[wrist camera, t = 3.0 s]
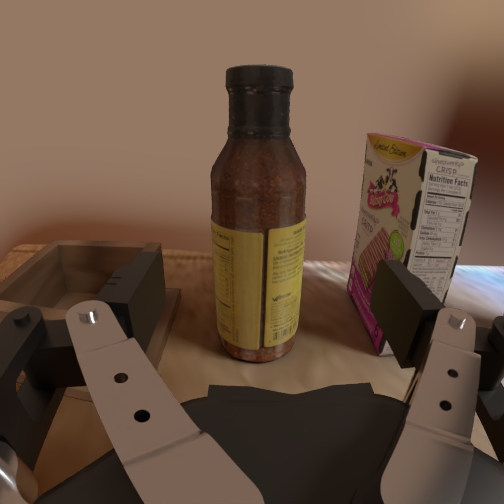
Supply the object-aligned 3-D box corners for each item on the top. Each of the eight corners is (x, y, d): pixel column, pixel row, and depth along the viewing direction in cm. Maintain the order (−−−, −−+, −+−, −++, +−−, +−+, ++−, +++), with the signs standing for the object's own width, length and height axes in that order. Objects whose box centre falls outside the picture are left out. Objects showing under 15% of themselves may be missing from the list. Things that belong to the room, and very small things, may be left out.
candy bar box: (342, 289, 33) (364, 131, 27) (384, 290, 33) (411, 138, 27) (375, 360, 23) (424, 142, 16) (427, 355, 23) (482, 155, 17)
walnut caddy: (180, 298, 31) (177, 239, 28) (144, 411, 18) (124, 339, 15) (59, 288, 30) (48, 236, 28) (-11, 372, 17) (-40, 308, 15)
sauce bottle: (288, 318, 28) (309, 79, 20) (301, 366, 23) (334, 67, 15) (214, 318, 28) (216, 73, 20) (211, 367, 22) (209, 57, 14)
